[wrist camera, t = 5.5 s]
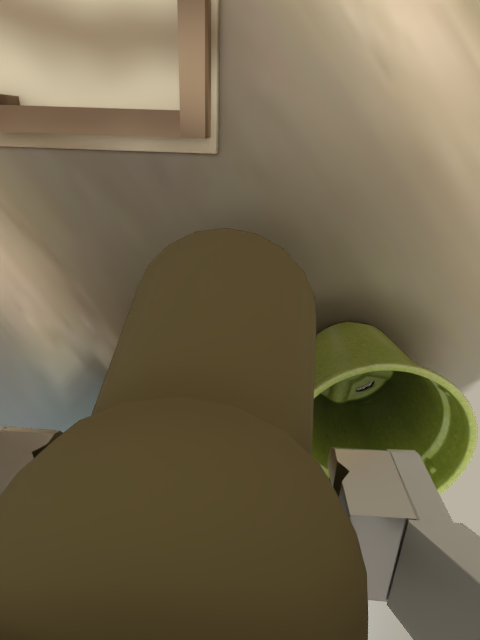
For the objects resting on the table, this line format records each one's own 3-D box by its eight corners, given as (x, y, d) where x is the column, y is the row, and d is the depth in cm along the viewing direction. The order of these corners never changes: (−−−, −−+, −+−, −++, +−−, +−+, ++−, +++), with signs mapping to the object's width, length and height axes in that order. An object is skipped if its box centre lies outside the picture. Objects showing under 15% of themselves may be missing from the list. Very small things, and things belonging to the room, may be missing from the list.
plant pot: (445, 374, 30) (511, 463, 22) (328, 439, 32) (349, 541, 24) (371, 268, 27) (417, 327, 19) (251, 349, 30) (246, 430, 22)
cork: (97, 295, 14) (-290, 683, 4) (249, 187, 13) (206, 402, 3) (205, 423, 16) (112, 904, 6) (350, 342, 15) (547, 814, 5)
